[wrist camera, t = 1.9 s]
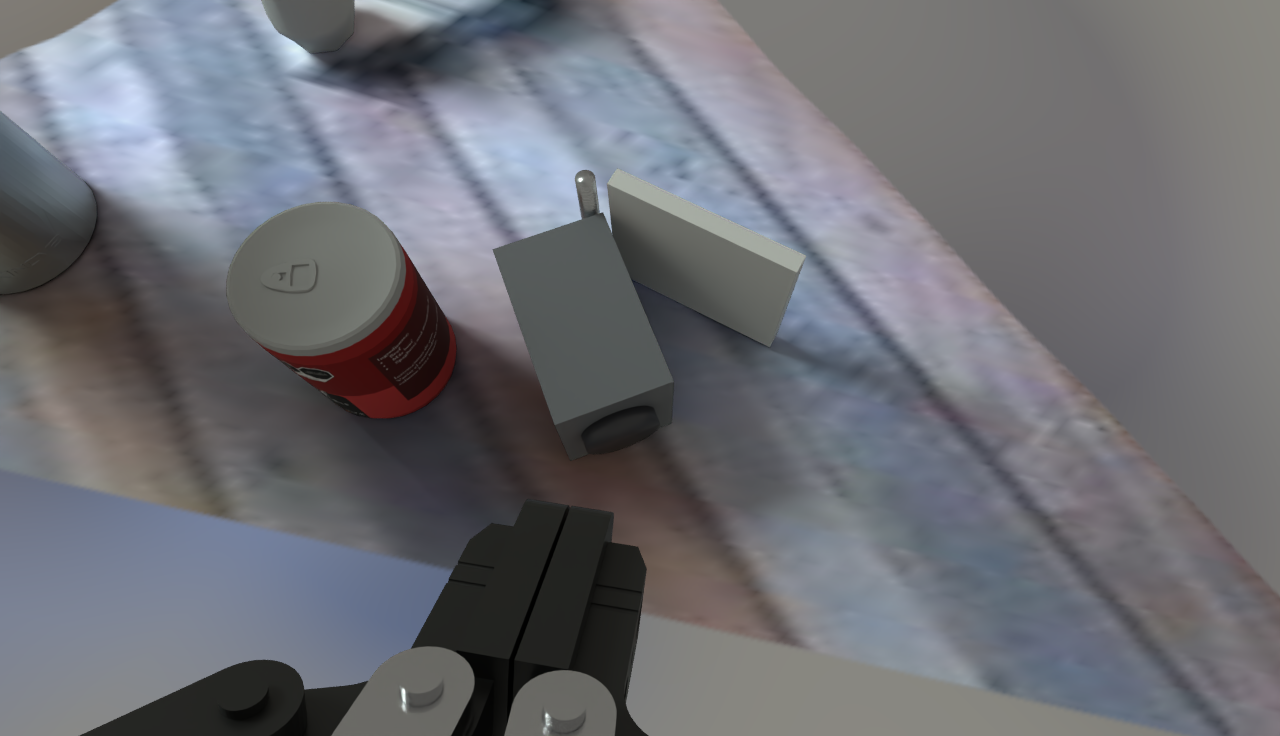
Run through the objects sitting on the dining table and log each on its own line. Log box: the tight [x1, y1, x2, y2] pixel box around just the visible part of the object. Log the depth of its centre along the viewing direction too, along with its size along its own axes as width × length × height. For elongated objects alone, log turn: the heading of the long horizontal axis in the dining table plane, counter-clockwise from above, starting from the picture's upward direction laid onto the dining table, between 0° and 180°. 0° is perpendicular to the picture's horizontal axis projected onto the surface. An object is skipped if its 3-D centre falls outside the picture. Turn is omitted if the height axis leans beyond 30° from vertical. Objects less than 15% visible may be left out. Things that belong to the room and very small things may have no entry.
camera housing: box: [493, 170, 674, 461], centre depth 40 cm, size 12×6×9 cm, turn 21°
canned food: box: [226, 202, 456, 418], centre depth 40 cm, size 8×8×11 cm
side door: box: [607, 169, 806, 347], centre depth 41 cm, size 10×2×9 cm, turn 61°
